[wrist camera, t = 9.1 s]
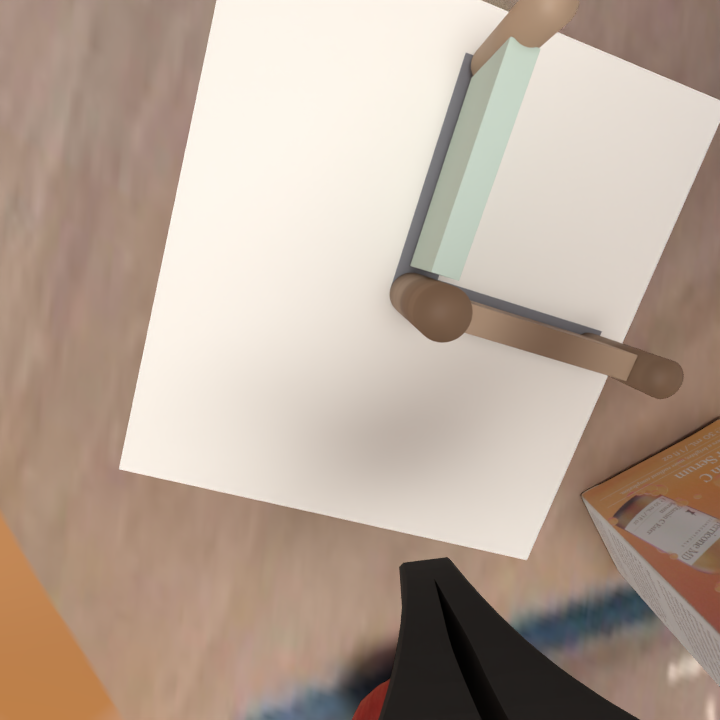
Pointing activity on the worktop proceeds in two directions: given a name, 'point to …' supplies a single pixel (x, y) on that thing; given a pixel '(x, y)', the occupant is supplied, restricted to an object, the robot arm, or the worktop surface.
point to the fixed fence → (528, 335)
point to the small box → (670, 538)
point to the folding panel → (485, 131)
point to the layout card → (396, 266)
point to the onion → (372, 703)
